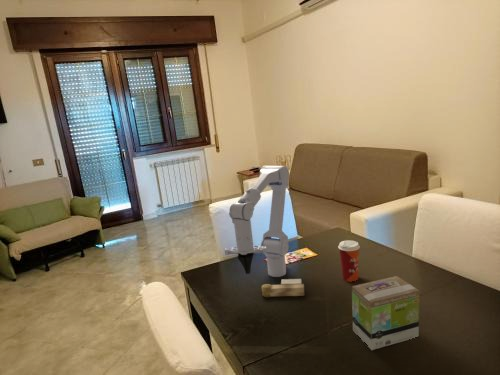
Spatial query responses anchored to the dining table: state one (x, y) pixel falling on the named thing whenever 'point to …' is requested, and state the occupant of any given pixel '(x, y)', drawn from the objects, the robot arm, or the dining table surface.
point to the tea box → (385, 312)
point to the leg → (283, 290)
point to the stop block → (290, 281)
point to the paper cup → (349, 260)
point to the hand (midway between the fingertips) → (248, 272)
